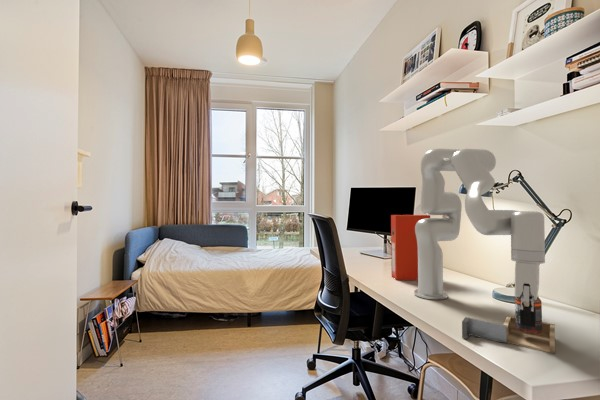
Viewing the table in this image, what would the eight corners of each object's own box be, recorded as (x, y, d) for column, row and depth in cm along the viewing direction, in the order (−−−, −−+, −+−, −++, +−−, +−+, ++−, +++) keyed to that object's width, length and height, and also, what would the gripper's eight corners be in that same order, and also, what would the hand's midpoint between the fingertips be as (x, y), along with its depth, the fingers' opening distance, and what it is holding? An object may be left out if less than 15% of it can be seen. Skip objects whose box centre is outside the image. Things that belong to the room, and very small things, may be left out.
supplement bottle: (543, 330, 86) (542, 288, 86) (541, 337, 82) (540, 293, 82) (517, 324, 90) (516, 285, 90) (513, 330, 86) (513, 289, 86)
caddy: (507, 329, 93) (507, 315, 93) (554, 338, 86) (554, 324, 86) (502, 341, 85) (502, 326, 85) (554, 353, 78) (554, 337, 78)
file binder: (391, 276, 162) (391, 214, 163) (424, 276, 162) (424, 214, 163) (396, 280, 154) (395, 215, 155) (431, 280, 154) (430, 215, 155)
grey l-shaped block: (465, 332, 90) (465, 317, 90) (506, 342, 84) (506, 325, 84) (462, 337, 87) (462, 321, 87) (504, 348, 81) (504, 330, 81)
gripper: (514, 251, 95) (514, 310, 95) (507, 258, 82) (508, 328, 82) (545, 253, 90) (546, 316, 90) (544, 262, 77) (545, 335, 77)
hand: (528, 321), depth 86 cm, fingers closed on supplement bottle, 6 cm apart
